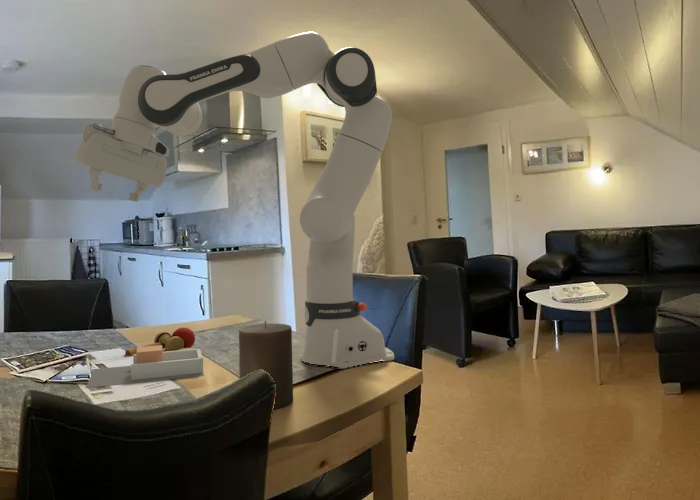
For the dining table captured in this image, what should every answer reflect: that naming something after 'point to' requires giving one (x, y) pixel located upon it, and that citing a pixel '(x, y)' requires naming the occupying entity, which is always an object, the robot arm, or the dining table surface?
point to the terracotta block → (149, 354)
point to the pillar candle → (269, 356)
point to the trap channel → (151, 369)
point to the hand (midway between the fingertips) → (114, 196)
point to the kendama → (171, 340)
